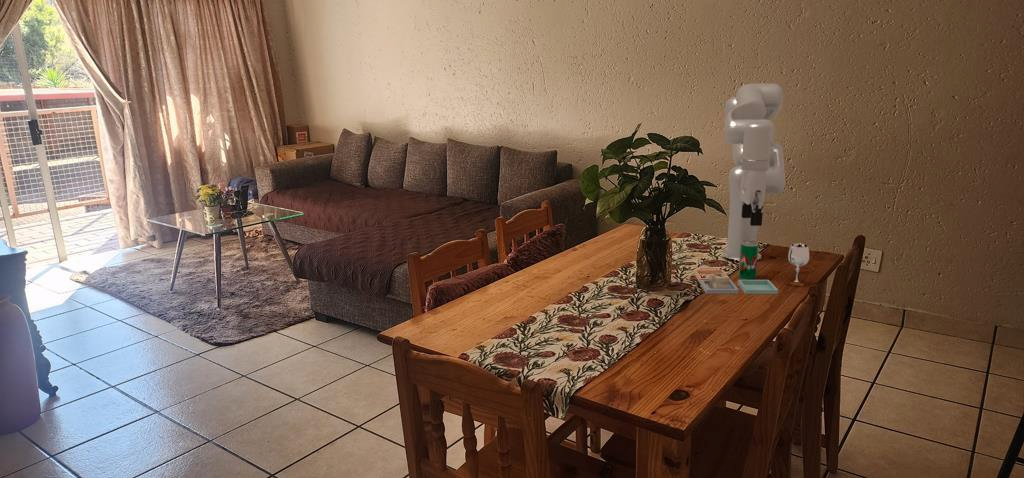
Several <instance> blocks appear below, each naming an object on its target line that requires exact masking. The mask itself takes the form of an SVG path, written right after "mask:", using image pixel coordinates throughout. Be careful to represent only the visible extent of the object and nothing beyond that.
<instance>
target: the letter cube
mask: <svg viewBox="0 0 1024 478" xmlns="http://www.w3.org/2000/svg"><path fill="white" fill-rule="evenodd" d="M727 275H728V274H727ZM727 275H725V274H723V273H717V274H710V281H709V287H710V288H711V289H729V278H730V277H729V275H728V276H727Z"/></svg>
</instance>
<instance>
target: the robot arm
mask: <svg viewBox="0 0 1024 478" xmlns="http://www.w3.org/2000/svg"><path fill="white" fill-rule="evenodd" d="M735 95H736V96H734V97H730V98H729V99H727V101H726V102H725V106H724V123H723V128H724V139H725V140H726V142H727V143H728V144H730V145H731V147H732V162H733V165H734V167H732V168H731V169H730V171H729V173H728V185H729V186H728V187H729V214H728V215H729V216H728V228H727V229H728V231H727V246H726V250H724V251H723V252H722V253H721V257H722V256H723V257H726V258H729V259H734V260H740V248H741V243H742V241H743V240H755V241H757V242H758V239H759V238H758V236H759V227H760V226H762V224H763V214H764V205H763V204H765V199H766V198H765V197H766V195H778V194H781V193H782V192H783V191H784V190H785V186H786V172H785V170H786V169H785V160H784V151H783V148H782V145H781V144H780V143H779V142H777V141H773V140H774V139H775V134H776V127H775V125H774V123H773V121H772V120H774V119H776V118H777V116H778V114H779V112H780V110H781V108H782V105H783V101H784V93H783V89H782V87H781V86H780V85H779V84H777V83H748V84H743V85H742V86H740V88H739V89H738V90H737V91H736V94H735ZM723 257H722V258H723ZM759 259H760V260H761V259H762V254H761V253H760V252H758V257H757V260H759ZM760 260H759V261H760Z"/></svg>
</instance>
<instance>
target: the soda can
mask: <svg viewBox="0 0 1024 478" xmlns="http://www.w3.org/2000/svg"><path fill="white" fill-rule="evenodd" d="M758 253H759V244H758V240H757V241H755V240H743V241H742V243H741V248H740V262H738V263H739V266H738V278H740V279H741V280H756V278H757V267H758V266H757V265H758V261H757V257H758Z"/></svg>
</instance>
